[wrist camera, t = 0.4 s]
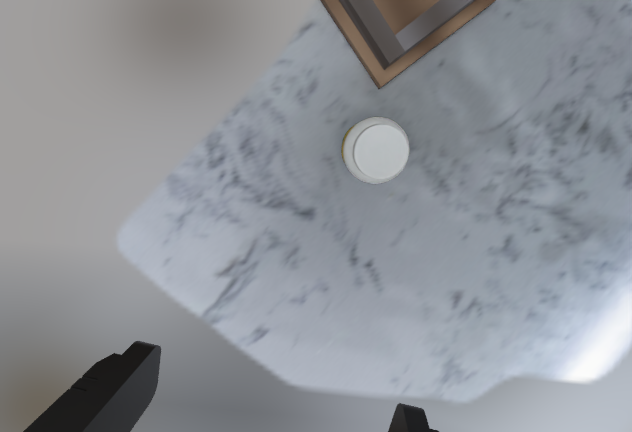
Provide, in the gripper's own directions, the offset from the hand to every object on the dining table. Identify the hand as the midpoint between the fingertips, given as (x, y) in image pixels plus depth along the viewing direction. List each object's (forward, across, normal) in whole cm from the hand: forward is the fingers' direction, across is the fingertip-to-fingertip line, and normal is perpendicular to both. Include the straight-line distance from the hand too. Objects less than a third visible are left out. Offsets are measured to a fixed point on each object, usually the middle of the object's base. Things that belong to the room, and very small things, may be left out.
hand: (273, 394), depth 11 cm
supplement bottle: (+25, -3, -8) cm, 27 cm away
